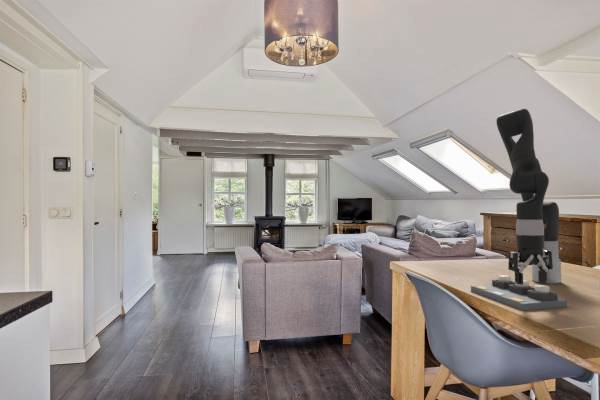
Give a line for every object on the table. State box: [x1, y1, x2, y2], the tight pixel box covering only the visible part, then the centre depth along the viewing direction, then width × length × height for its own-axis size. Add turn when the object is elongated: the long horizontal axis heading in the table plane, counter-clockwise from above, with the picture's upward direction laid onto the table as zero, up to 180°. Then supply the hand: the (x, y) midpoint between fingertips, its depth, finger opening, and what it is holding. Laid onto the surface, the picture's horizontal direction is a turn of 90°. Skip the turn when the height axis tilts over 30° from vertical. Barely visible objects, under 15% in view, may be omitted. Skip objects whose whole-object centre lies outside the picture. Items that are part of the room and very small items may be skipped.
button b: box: [514, 279, 530, 288], centre depth 119 cm, size 4×4×2 cm
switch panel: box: [470, 279, 568, 311], centre depth 118 cm, size 16×24×4 cm, turn 10°
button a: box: [497, 274, 512, 283], centre depth 127 cm, size 4×4×2 cm
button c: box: [533, 284, 551, 294], centre depth 111 cm, size 4×4×2 cm
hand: (530, 283), depth 110 cm, fingers open, 8 cm apart
